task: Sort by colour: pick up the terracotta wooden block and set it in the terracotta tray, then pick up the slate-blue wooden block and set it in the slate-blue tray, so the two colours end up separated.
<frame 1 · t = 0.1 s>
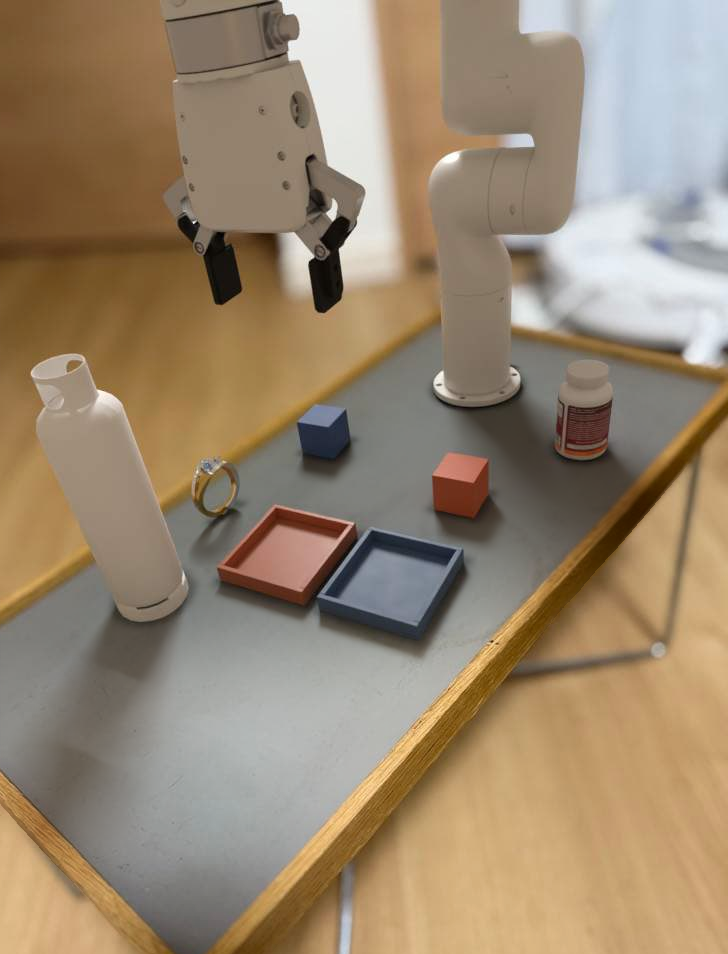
hand: (277, 302, 56), 31 cm above the table, tool pointing down, fingers open, 9 cm apart
ring: (224, 514, 89), on the table
blue tray: (392, 585, 74), on the table
blue block: (326, 446, 98), on the table
bottle: (153, 596, 79), on the table
terracotta block: (461, 501, 84), on the table
terracotta tray: (290, 557, 80), on the table
pill bottle: (580, 449, 89), on the table
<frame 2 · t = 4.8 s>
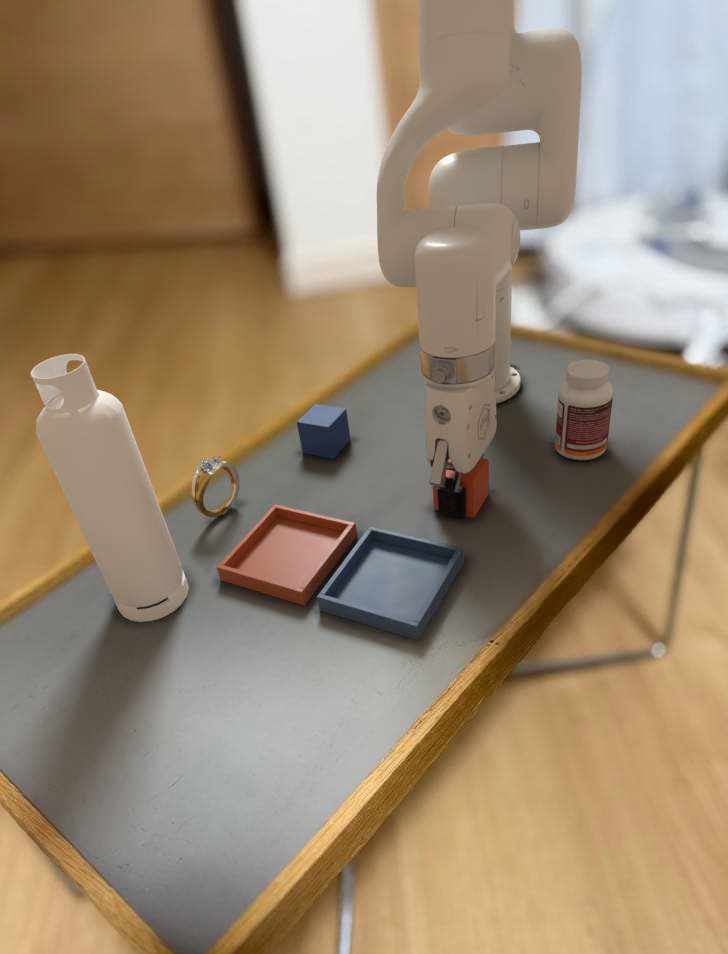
hand: (461, 498, 83), 0 cm above the table, tool pointing down, fingers closed on terracotta block, 5 cm apart
terracotta block: (461, 501, 84), on the table, touching gripper
everything else where it was.
when the fingers open (1 cm above the table, at t = 11.8 s): terracotta block stays where it is, resting on terracotta tray.
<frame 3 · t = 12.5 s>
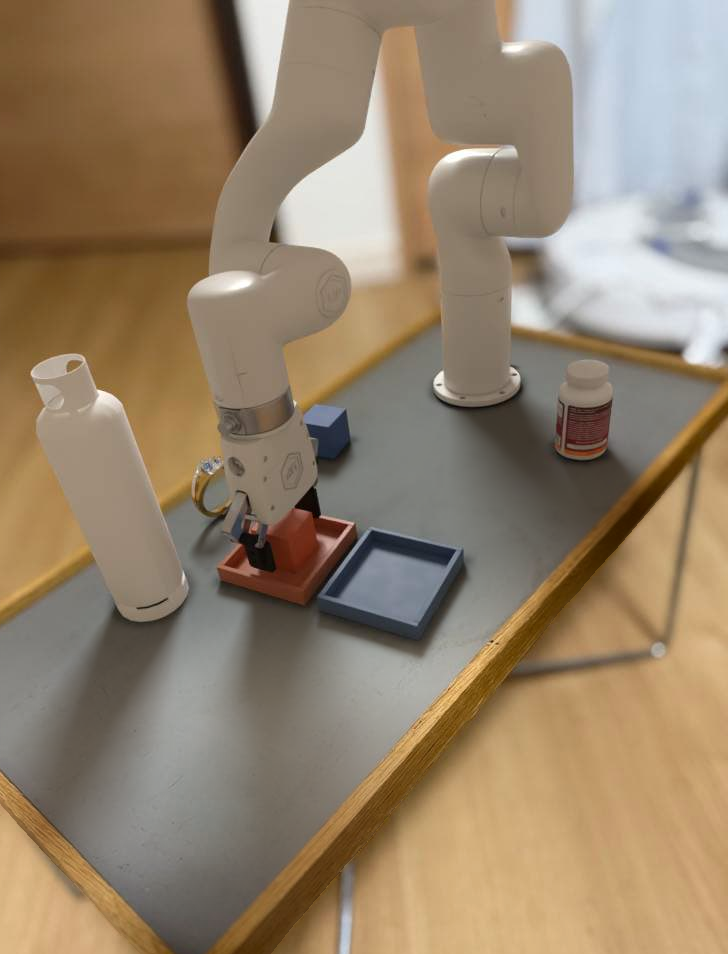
hand: (286, 540, 79), 2 cm above the table, tool pointing down, fingers open, 9 cm apart
terracotta block: (289, 555, 80), resting on terracotta tray
everything else where it was.
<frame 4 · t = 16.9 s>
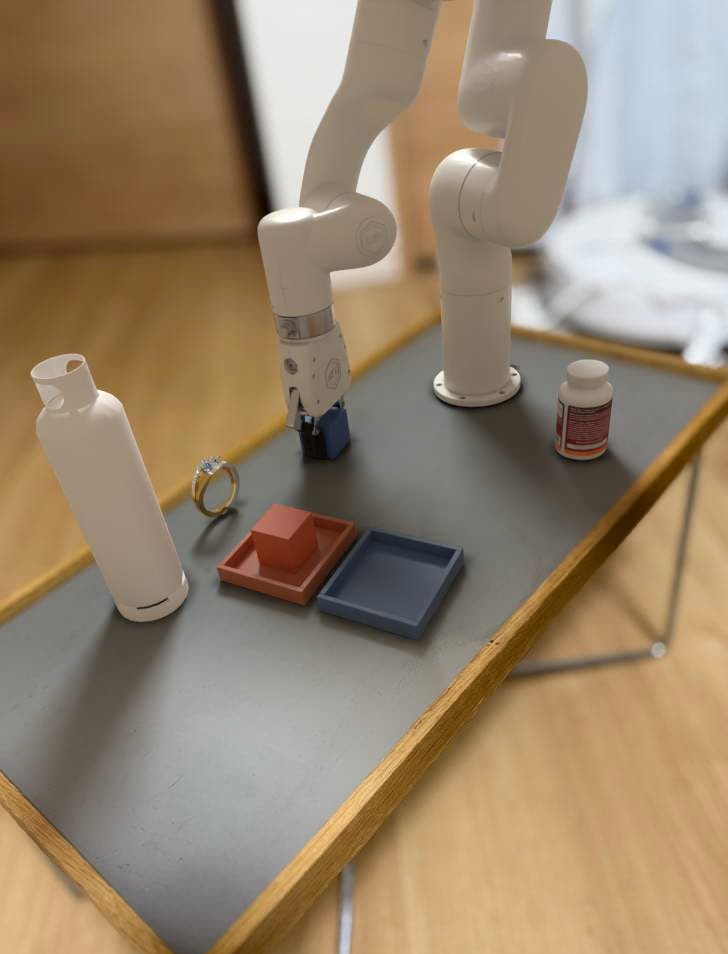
hand: (326, 444, 97), 0 cm above the table, tool pointing down, fingers closed on blue block, 5 cm apart
blue block: (326, 446, 98), on the table, touching gripper
everything else where it was.
when the fingers open (1 cm above the table, at t = 24.4 s): blue block stays where it is, resting on blue tray.
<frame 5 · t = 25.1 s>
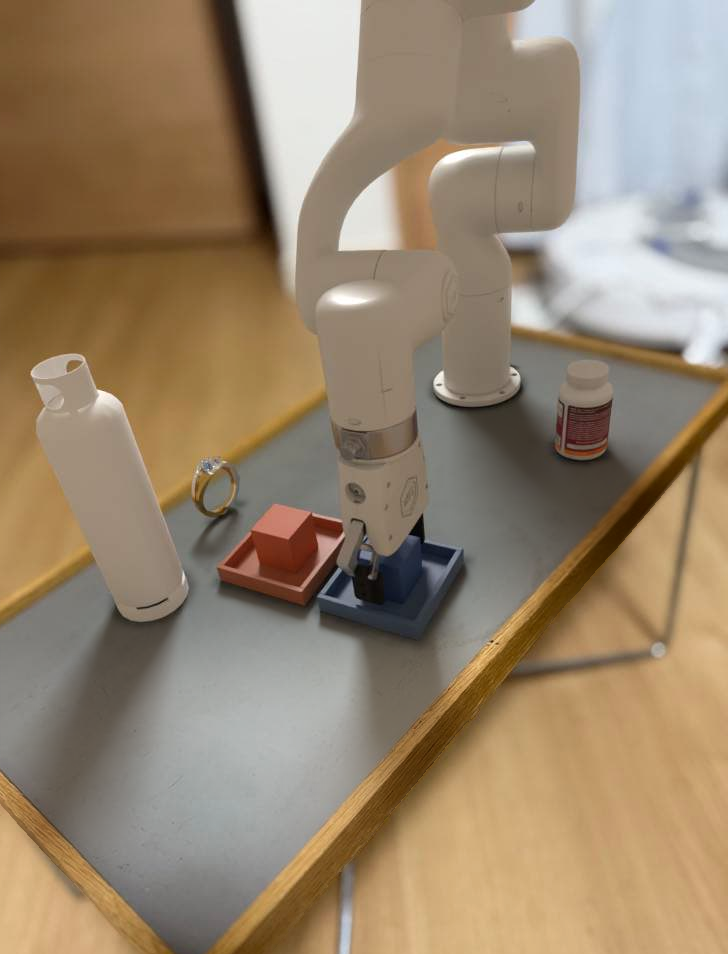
hand: (391, 569, 73), 2 cm above the table, tool pointing down, fingers open, 9 cm apart
blue block: (391, 582, 74), resting on blue tray
everything else where it was.
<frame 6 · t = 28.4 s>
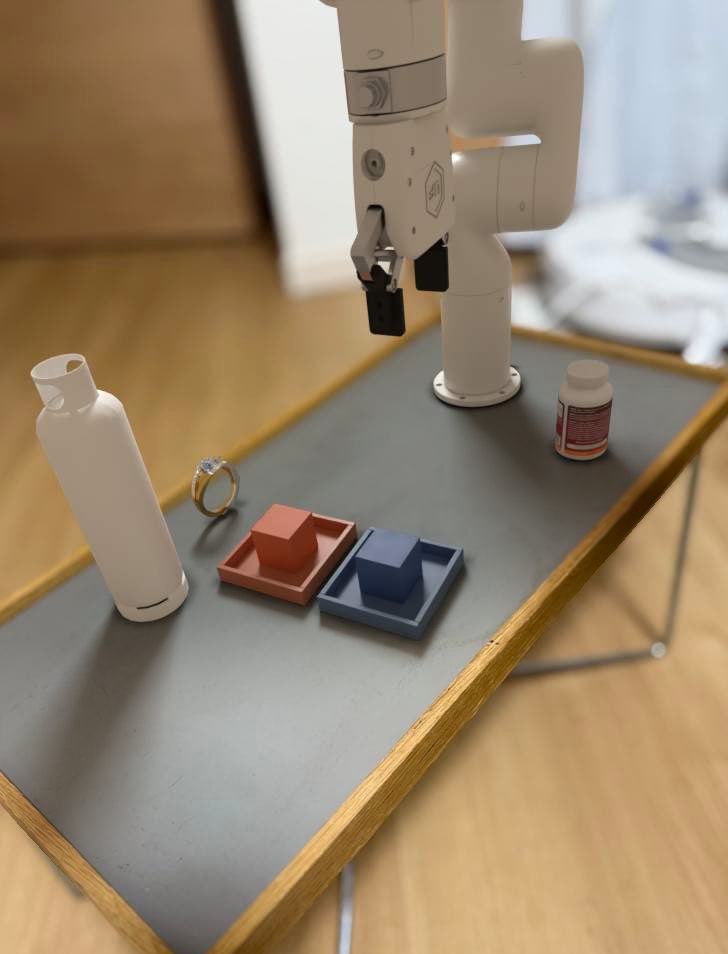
hand: (411, 311, 63), 26 cm above the table, tool pointing down, fingers open, 9 cm apart
nothing on the table moved.
at the end: terracotta block inside the target area in the terracotta tray (0.1 cm from its centre), point 0.5 cm above the terracotta tray's base; blue block inside the target area in the blue tray (0.1 cm from its centre), point 0.5 cm above the blue tray's base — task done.
